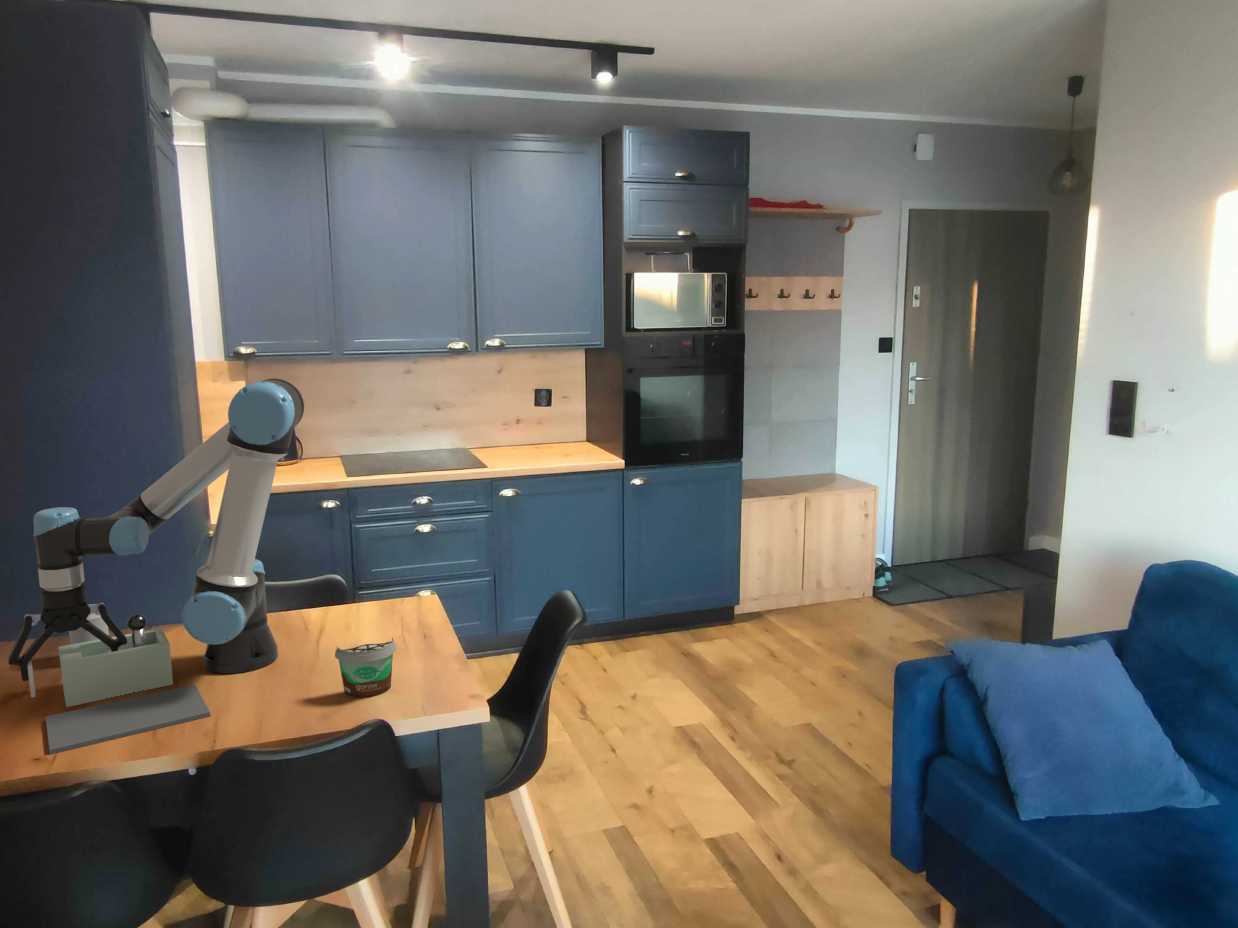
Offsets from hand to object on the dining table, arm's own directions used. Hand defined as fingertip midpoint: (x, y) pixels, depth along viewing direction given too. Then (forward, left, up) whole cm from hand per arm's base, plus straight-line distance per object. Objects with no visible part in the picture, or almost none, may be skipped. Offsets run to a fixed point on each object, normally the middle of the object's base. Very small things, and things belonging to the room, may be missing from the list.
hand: (73, 686), depth 177 cm
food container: (-60, +4, -2) cm, 60 cm away
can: (+6, -20, -2) cm, 21 cm away
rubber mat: (-16, +12, -2) cm, 20 cm away
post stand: (-11, -6, -2) cm, 12 cm away
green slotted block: (-7, -4, -2) cm, 8 cm away
